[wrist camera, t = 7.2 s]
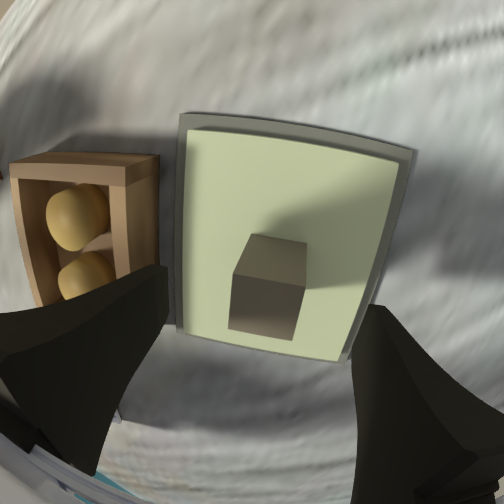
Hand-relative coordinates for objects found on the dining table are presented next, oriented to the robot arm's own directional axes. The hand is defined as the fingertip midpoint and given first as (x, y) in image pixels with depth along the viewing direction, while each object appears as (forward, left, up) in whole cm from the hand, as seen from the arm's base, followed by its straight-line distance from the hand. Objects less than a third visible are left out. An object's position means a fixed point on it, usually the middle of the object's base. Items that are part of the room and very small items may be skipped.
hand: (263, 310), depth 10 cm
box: (-1, +10, -4) cm, 11 cm away
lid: (0, 0, -4) cm, 4 cm away
